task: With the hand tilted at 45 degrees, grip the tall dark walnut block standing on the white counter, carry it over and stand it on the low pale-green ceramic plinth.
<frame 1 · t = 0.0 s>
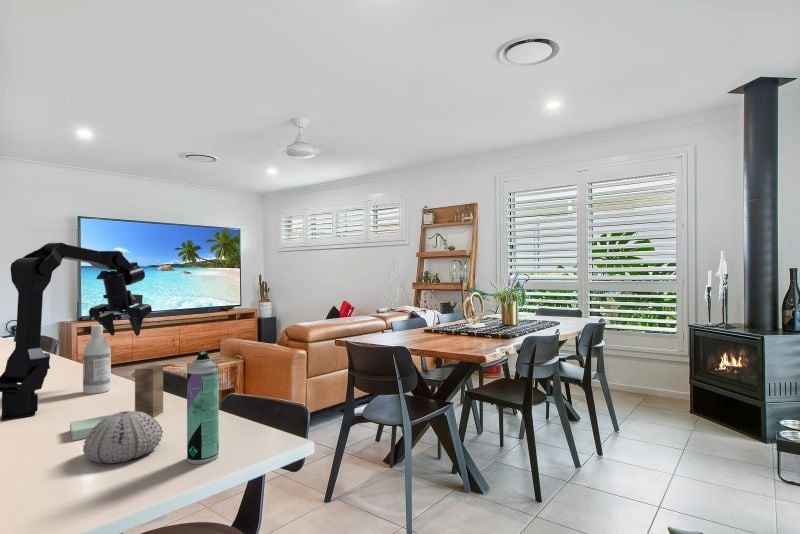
hand: (125, 335, 147), 15 cm above the kitchen island, tool pointing down, fingers open, 9 cm apart
green plinth: (93, 431, 100), on the kitchen island
spray can: (203, 459, 85), on the kitchen island
sea urchin shell: (123, 454, 88), on the kitchen island
walnut block: (149, 415, 112), on the kitchen island
bath foam: (97, 392, 136), on the kitchen island
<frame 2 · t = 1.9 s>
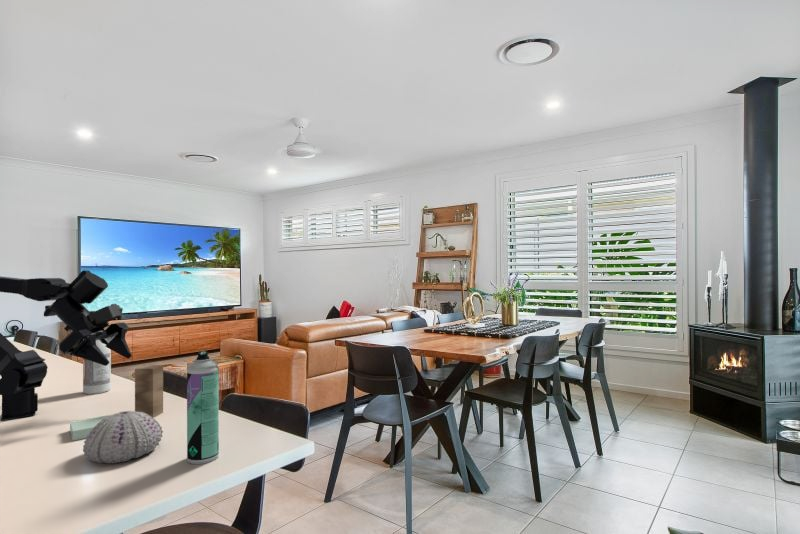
hand: (119, 360, 113), 13 cm above the kitchen island, tool tilted 45°, fingers open, 9 cm apart
nothing on the kitchen island moved.
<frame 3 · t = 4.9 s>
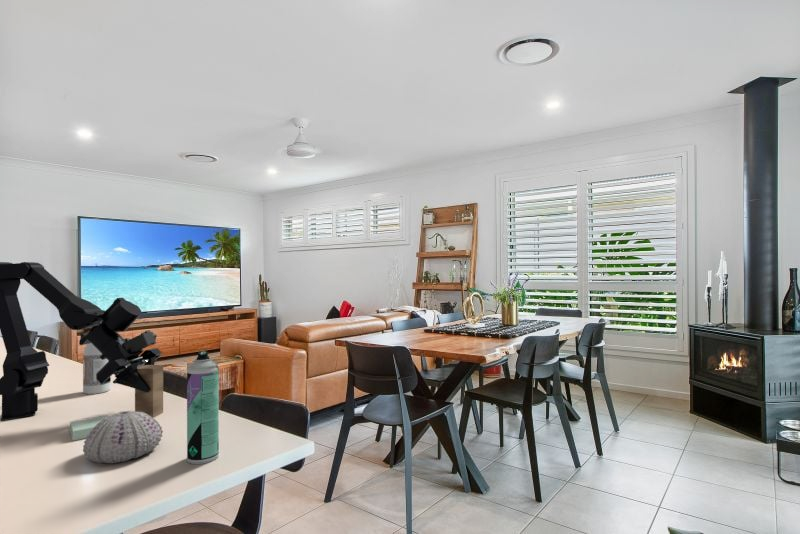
hand: (154, 388, 112), 7 cm above the kitchen island, tool tilted 45°, fingers closed on walnut block, 4 cm apart
walnut block: (149, 415, 112), on the kitchen island, touching gripper
everything else where it was.
when the fingers open (9 cm above the kitchen island, at t = 8.4 s): walnut block stays where it is, resting on green plinth.
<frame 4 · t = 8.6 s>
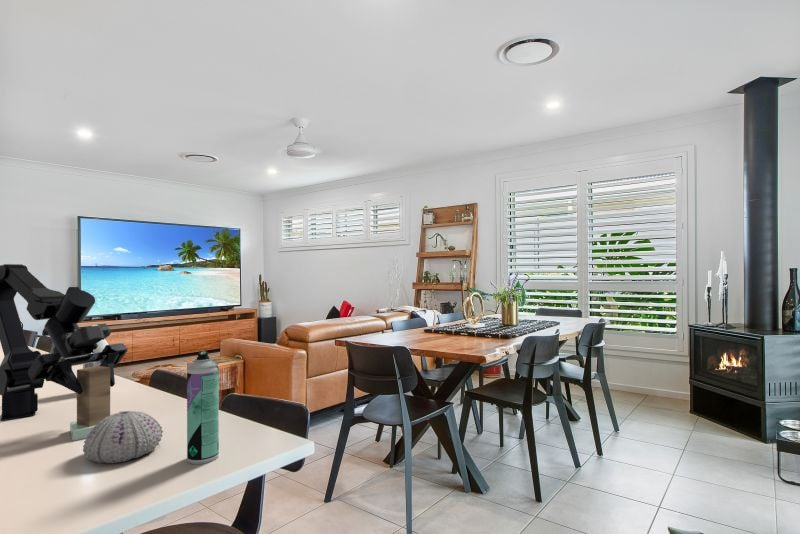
hand: (97, 389, 100), 10 cm above the kitchen island, tool tilted 45°, fingers open, 7 cm apart
walnut block: (93, 422, 100), point 2 cm above the kitchen island, touching green plinth
everything else where it was.
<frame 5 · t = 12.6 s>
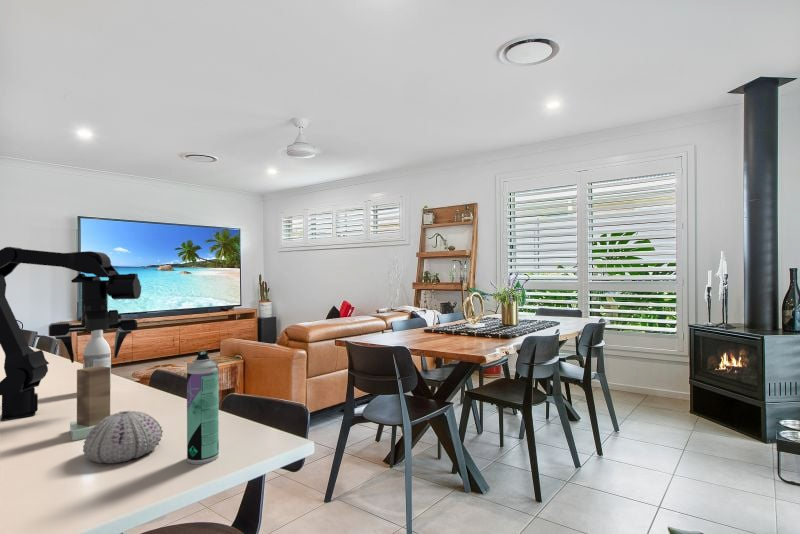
hand: (94, 360, 116), 13 cm above the kitchen island, tool pointing down, fingers open, 9 cm apart
nothing on the kitchen island moved.
at the end: walnut block 0.0 cm off-centre on the green plinth, point 2.0 cm above the green plinth's base; walnut block tilted 0°; the gripper is holding nothing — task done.
